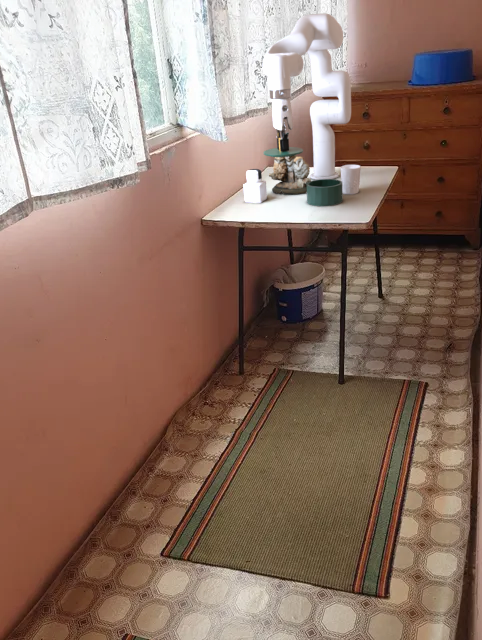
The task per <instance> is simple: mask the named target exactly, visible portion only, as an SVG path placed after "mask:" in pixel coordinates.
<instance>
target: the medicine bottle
mask: <svg viewBox="0 0 482 640" xmlns="http://www.w3.org/2000/svg"><path fill="white" fill-rule="evenodd" d="M245 176H246V182H245V183H243V185H242V187H243V188H242V189H243V200H244V203H248V204H249V203H251V204H261V203H263V202H265V201H266V200H267V199H268V192H267V181H266V180H263V175H262V170H261V169H259V168H250V169H248V170H246V172H245Z"/></svg>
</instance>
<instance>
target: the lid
mask: <svg viewBox="0 0 482 640" xmlns="http://www.w3.org/2000/svg"><path fill="white" fill-rule="evenodd" d="M280 140H281V137H280V138H279V150H278V149H277V147H275V148H269V149H266V150H264V151H263V156H265V157H271V158H274V157H290V156H295V155H296V156H298V155H301V154H303V153H304V149H303V148H301V147H296V146H295V147H294V146H289V151H283V152H281V151H280Z"/></svg>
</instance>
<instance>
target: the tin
mask: <svg viewBox="0 0 482 640" xmlns="http://www.w3.org/2000/svg"><path fill="white" fill-rule="evenodd" d="M306 185H307V192H306V203H307V204H308V205H310V206H314V207H330V206H331V207H332V206H335V205H338V204H341V203H342V202H343V197H344V196H343V194H344V193H342V181H341V179H337V178H335V179H319V180H314V179H312V180H311V181H310V182H308V183H307V184H306Z"/></svg>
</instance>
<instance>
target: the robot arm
mask: <svg viewBox="0 0 482 640" xmlns="http://www.w3.org/2000/svg"><path fill="white" fill-rule="evenodd" d="M343 41H344V31H343V28H342V25H341V24H340V23H339V21H337V19H336V18H335V17H334V16H333V15H331V14H330V13H312V14H311V13H309V14H304V15H302V16H300V17H299V19H297V21H296V23H295V24H294V27H293V28H292V30H291V32H290V33H289V34H288V35H286V36H284V37H282V38H280V39H279V40H277V41H276V42H274V43H273V44H271V46H269V47H268V49H267V51H266V53H265V55H264V57H263V60H262V71H263V73H264V74H265V76H266V77H268V88H269V91H268V92H269V101H271V102H272V103H271V107H272V109H271V110H272V111H271V112H272V113H271V114H272V115H271V116H272V126H273V128H274V129H275V131H276V134H275V135H276V148H277V149H278V150H279V138H280V137H281V140H280V151H281V152H283V151H289V147H290V140H289V139H290V137H289V134H290V131H292V130H293V129H294V123H293V111H292V104H291V103H292V102H291V100H292V86H291V85H292V82H291V78H293V77H298V76H299V75H300V74H301V73H302V72H303V71H304V64H305V63H304V59H303V56H304V55H306V54H307V56H308V58H309V61H310V73H311V89H312V93H313V95H314V96H316V97H320V98H321V97H323V98H328V97H336V98H338V99H318V100H315V101H313V102H312V103H311V104H310V107H309V117H310V122H311V129H312V153H313V154H312V155H313V172H312V173H311V174H309V176H310V177H309V178H310V179H311V180H319V179H337V178H339V172H337V171H336V136H335V132H334V130H333V128H332V127H331V125H346V124H348V123H349V122H350V120H351V118H352V85H351V84H352V83H351V77H350V75H349V73H348V72H347V71H346V70H333V66H332V65H333V64H332V63H333V62H332V55H331V54H330V52H329V50H337V49H339V48H341V46H342V44H343Z"/></svg>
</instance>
